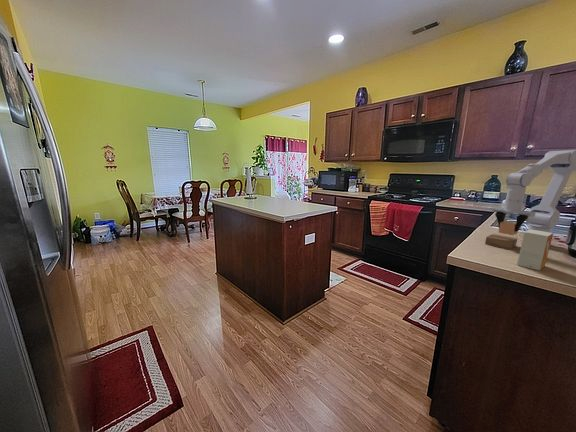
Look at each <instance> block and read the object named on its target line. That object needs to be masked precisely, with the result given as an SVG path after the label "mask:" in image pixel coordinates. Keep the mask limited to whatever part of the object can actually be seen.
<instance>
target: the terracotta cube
mask: <svg viewBox="0 0 576 432" xmlns="http://www.w3.org/2000/svg"><path fill="white" fill-rule="evenodd" d="M516 222H517V221H516ZM516 222H515V221H510V220H509V221H508V220H504V221H502V222H500V227H499V226H498V233H499V234H503V235H509V236H515V235H517V234H518V231H517V232H515V227H516Z"/></svg>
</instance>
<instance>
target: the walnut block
mask: <svg viewBox="0 0 576 432" xmlns="http://www.w3.org/2000/svg"><path fill="white" fill-rule="evenodd" d="M517 242H518V238H516V237H513V236H506V235H501V234H496V233H492V234H489V235H488V236H486V237H485V243H484V245H488V246H493V247H495V248H501V249H504V250H505V249H506V250H511V249H513V248H515V247H516V246H517Z"/></svg>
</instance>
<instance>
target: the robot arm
mask: <svg viewBox="0 0 576 432" xmlns="http://www.w3.org/2000/svg"><path fill="white" fill-rule="evenodd" d="M547 168H548V169H549V170H550V171H551V172H553V175H552V178H551V179H550V182H549V184H548V186H547V187H546V190H545V192H544V194H543V196H542V198H541V201H540V203H539V204H537V205H535V206H532V207H530V209H529V211H527V210H523V205H524V199H525V194H526V191H527V190H526V189H527V187H528V186H530V184H531V183H532V181H534V179H535V178H537V177H538V176H540V175H542V174H543V171H544V169H545V170H546V169H547ZM575 171H576V149H566V150H549V151H547V152H545V154H544V157H542V159H540V160H539V161H538V162H536V163H529V164H527V166H525V167H524V168H522V169H520V170H519V171H516V172H511V173H510V174H508V176H507V177H506V178H505V184H506V190H507V192H506V196H505V202H504V206H503V207H491V209H490V212H491V213H494V214H495V217H496V219H497V223H498V228H499V227H500V222H502V221H505V218H506V215H507V214H508V215H509V214H510V215H514V216H516V227H515V232H517V233H518V232H519V230H520V228H521V226H522V225H523V224H524V222H525V223H527V224H526V225H527V226H528V228H527V231H528V230H530V229H532V230H538V231H544V232H550V233H552V229H553V228H555V227H556V226H558V224H559V223H560V222H559V221H560V217H561V212H560V211H559V210H558V209H557V208H556V206H557V204H558V202H559V200H560V198H561V196H562V194H563V191H564V190H565V187H566V186H567V184H568V181H569V179H570V178H571V176H572V173H573V172H575ZM551 245H552V243H551V244H550V246H551Z"/></svg>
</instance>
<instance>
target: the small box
mask: <svg viewBox="0 0 576 432" xmlns="http://www.w3.org/2000/svg"><path fill="white" fill-rule="evenodd" d="M553 236H554V233H553V232H551V233H550V232H544V231H538V230H532V229H530V230H528V229H527V230H526V231H524V232H523V236H522V241H521V246H520V251H519V254H518V259H517V263H516V265H517V266H520V267H523V268H528V269H531V270H536V271H541V270H542V269H543V268H544V267H545V266H546V264H547V263H546V262H547V260H548V254H549V251H550V247H551V245H552V240H553ZM550 244H551V245H550Z"/></svg>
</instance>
